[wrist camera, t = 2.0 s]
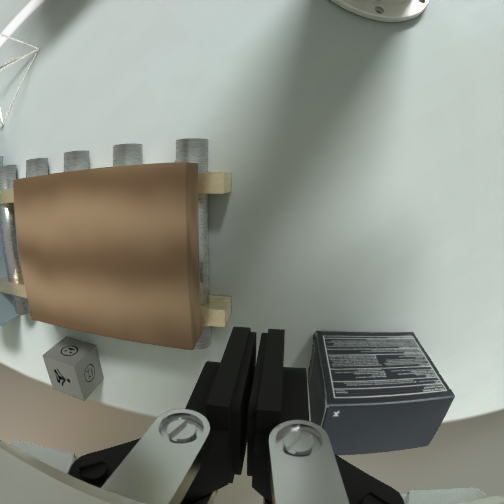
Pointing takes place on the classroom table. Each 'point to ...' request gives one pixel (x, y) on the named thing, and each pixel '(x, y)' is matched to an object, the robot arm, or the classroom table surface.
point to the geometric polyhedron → (0, 122)
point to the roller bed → (124, 154)
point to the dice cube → (74, 367)
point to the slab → (114, 251)
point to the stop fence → (3, 307)
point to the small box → (375, 391)
